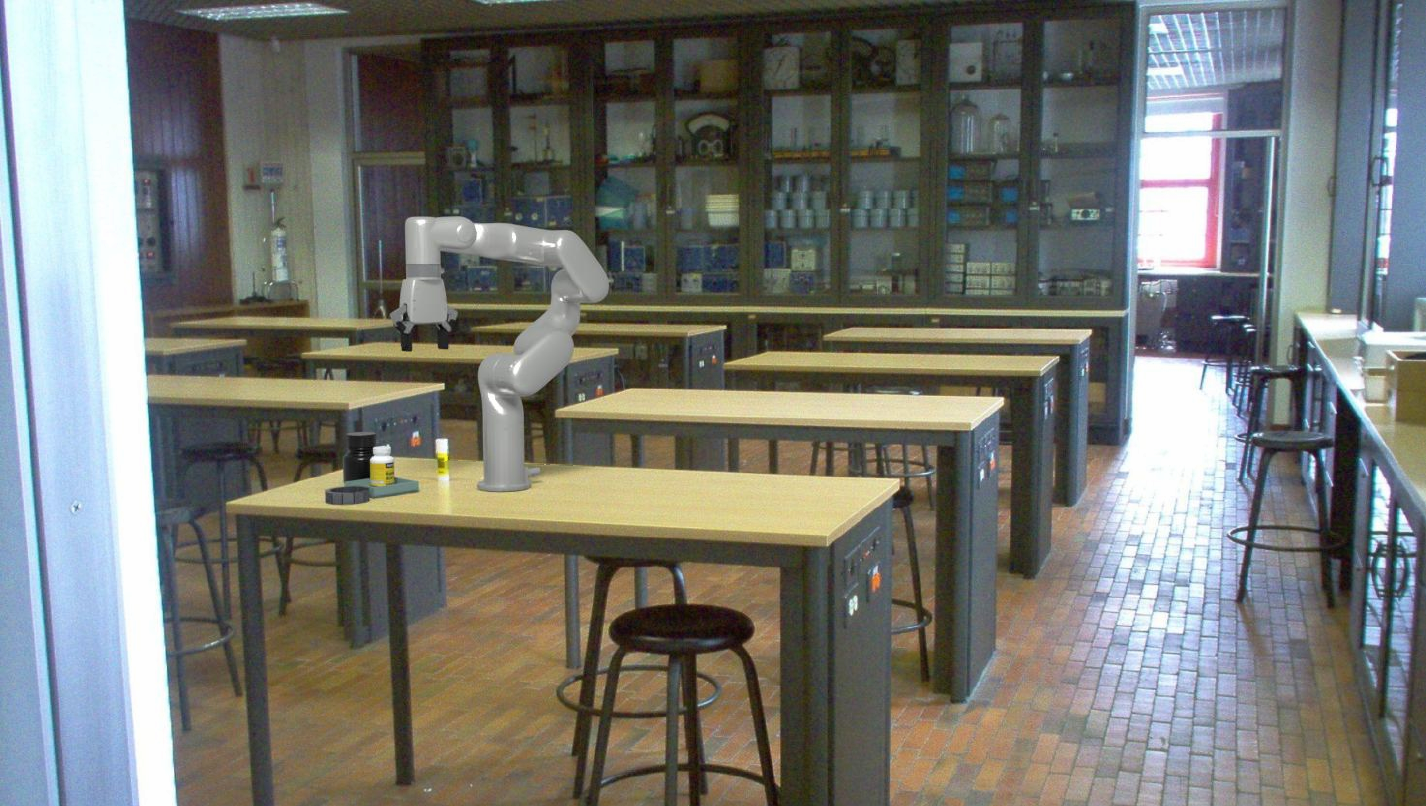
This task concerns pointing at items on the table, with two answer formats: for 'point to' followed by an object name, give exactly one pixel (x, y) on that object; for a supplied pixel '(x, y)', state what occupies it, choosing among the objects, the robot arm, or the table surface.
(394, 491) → the tray
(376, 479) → the supplement bottle
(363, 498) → the collar
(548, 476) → the table surface
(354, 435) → the ink bottle
